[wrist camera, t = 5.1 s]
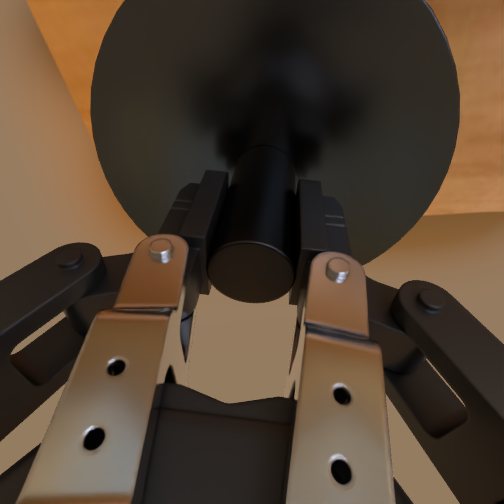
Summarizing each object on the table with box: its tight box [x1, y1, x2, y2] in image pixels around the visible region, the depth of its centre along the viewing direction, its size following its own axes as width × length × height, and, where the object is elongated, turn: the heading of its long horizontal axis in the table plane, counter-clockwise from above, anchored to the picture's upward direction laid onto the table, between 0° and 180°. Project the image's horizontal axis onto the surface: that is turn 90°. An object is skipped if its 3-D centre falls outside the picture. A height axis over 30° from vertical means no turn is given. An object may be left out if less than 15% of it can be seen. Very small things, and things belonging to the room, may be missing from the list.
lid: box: [91, 0, 460, 303], centre depth 11 cm, size 14×14×7 cm
